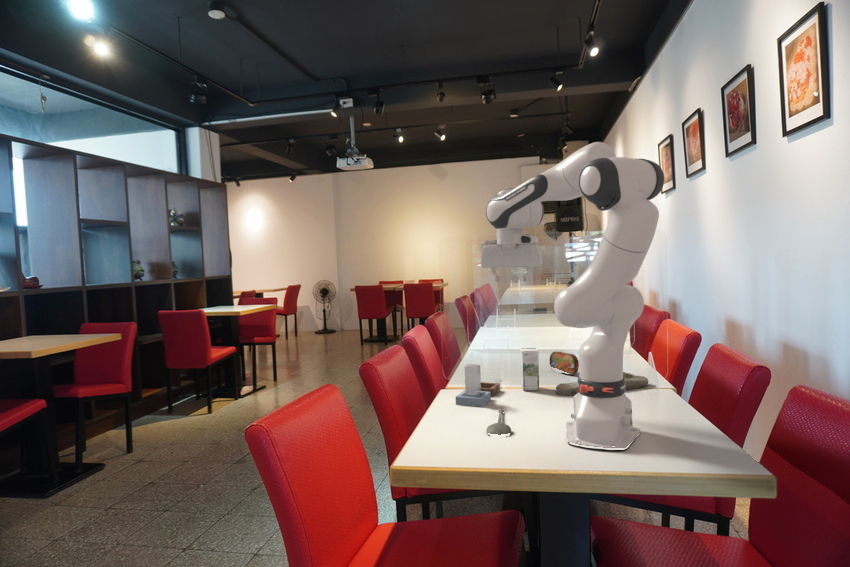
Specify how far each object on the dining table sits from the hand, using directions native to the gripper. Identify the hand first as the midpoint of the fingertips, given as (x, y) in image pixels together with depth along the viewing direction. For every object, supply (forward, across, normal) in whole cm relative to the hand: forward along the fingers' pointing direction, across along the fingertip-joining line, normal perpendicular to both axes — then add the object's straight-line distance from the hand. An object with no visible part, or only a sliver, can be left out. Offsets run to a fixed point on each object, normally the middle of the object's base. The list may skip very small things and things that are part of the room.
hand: (511, 281), depth 171 cm
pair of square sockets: (+39, -12, -2) cm, 41 cm away
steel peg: (+39, -12, -8) cm, 42 cm away
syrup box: (+39, +2, +13) cm, 41 cm away
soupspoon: (+40, +3, -28) cm, 48 cm away
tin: (+39, +9, +41) cm, 58 cm away
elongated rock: (+40, +26, +20) cm, 51 cm away
